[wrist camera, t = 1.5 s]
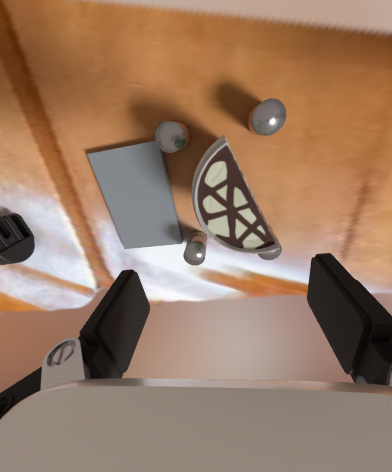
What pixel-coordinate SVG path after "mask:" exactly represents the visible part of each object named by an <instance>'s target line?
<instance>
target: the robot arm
mask: <svg viewBox="0 0 392 472" xmlns="http://www.w3.org/2000/svg"><path fill="white" fill-rule="evenodd" d="M307 301H308V304H309V306H310V308H311V310H312V312H313V313H314V315H315V317H316V319H317V321H318V323H319V324H320V327H321V328H322V330H323V332H324V334H325V336H326V338H327V340H328V342H329V344H330V346H331V347H332V349H333V351H334V353H335V355H336V357H337V358H338V360H339V363H340V364H341V366H342V368H343V370H344V371H345V373H346V374H350V375H351V377H352V379H353V381H354V382H355V383H344V382H319V381H275V380H274V381H273V380H270V381H269V380H218V379H135V378H134V379H133V378H132V379H131V378H122V376H123V373H124V372H126V371H127V369H128V367H129V364H130V361H131V358H132V356H133V354H134V351H135V348H136V345H137V343H138V340H139V338H140V335H141V332H142V330H143V327H144V324H145V322H146V319H147V317H148V314H149V311H150V305H149V302H148V300H147V297H146V294H145V292H144V289H143V287H142V284H141V281H140V279H139V276H138V274H137V272H134V270H123V271H122V272H121V273H120V274H119V276H118V277H117V279H116V280H115V282H114V283H113V284H112V286H111V287H110V289H109V290H108V292H107V293H106V295H105V296H104V298H103V299H102V300H101V302H100V303H99V305H98V306H97V308H96V309H95V311H94V312H93V313H92V315H91V316H90V318H89V319H88V321H87V322H86V324H85V325H84V326H83V328H82V330H81V331H80V336H79V337H78V338H76V337H71V338H67V339H64V340H62V341H60V342H59V343H58V344H56V345H55V346H54V347H52V349H51V350H50V351H49V352H48V353H47V354H46V356H45V358H44V359H43V363H42V367H40V368H39V369H38V370H36V371H34V372H33V373H31V374H30V375H28V376H26V377H25V378H23V379H22V380H20V381H19V382H17V383H16V384H14V385H12V386H11V387H9V388H8V389H6V390H5V391H3V392H1V393H0V472H392V316H391V315H390V314H389V313H388V312H387V310H386V309H385V308H384V307H383V306H382V305H381V304H380V303H379V302H378V301H377V300H376V299H375V298H374V297H373V296H372V295H371V294H370V293H369V291H368V290H367V289H366V288H365V287H364V286H363V285H362V284H361V283H360V282H359V281H358V280H356V279H354V278H353V277H352V276H351V275H350V274H349V272H348V271H347V270H346V269H345V268H344V267H343V266H342V265H341V264H340V263H339V262H338V261H337V260H336V259H335V257H334V256H333V255H332V254H330V253H324V254H316V256H315V257H313V258H312V260H311V268H310V277H309V285H308V294H307Z"/></svg>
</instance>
